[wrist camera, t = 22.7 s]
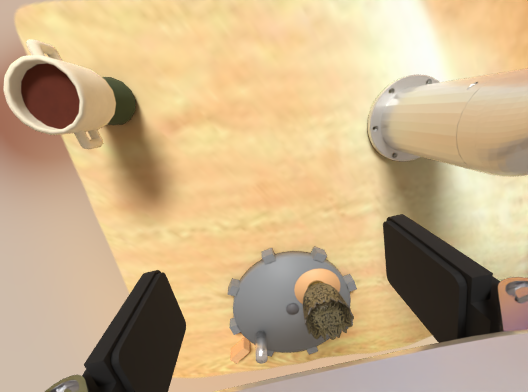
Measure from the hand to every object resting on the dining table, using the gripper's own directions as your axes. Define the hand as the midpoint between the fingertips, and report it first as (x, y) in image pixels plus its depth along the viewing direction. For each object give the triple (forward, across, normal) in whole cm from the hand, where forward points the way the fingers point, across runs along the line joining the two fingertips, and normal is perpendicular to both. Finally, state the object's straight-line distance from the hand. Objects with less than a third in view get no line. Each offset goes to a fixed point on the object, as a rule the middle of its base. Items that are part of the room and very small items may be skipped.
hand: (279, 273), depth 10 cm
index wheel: (+30, 0, +29) cm, 42 cm away
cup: (+28, -5, +25) cm, 38 cm away
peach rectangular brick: (+30, +12, +38) cm, 50 cm away
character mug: (+31, +18, -12) cm, 37 cm away
